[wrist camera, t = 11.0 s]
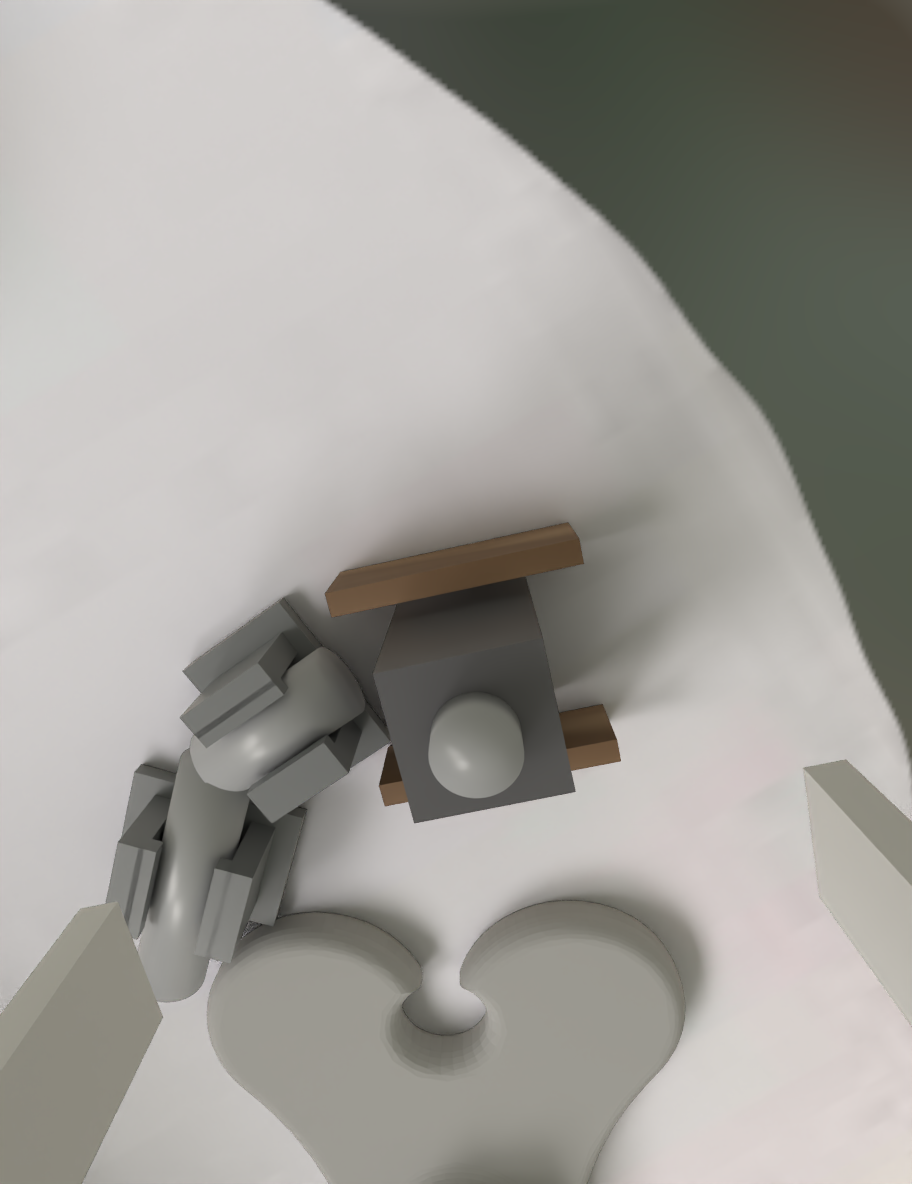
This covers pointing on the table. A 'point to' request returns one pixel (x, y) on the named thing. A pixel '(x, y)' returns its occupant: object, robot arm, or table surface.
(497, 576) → the end holder
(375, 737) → the clip
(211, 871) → the clip
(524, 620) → the block
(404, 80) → the table surface
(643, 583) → the table surface
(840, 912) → the robot arm
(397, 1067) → the holder
